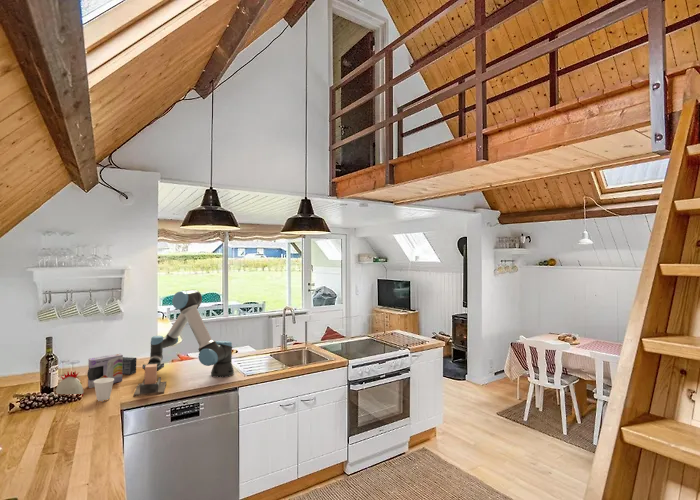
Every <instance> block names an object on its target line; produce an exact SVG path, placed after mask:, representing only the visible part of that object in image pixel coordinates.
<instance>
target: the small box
mask: <svg viewBox="0 0 700 500" xmlns="http://www.w3.org/2000/svg"><path fill="white" fill-rule="evenodd" d="M137 359H138V357H128V356H123V370H122V376H123V375H124V376H132V375H134V374H136V373H137Z"/></svg>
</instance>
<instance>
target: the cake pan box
mask: <svg viewBox="0 0 700 500" xmlns="http://www.w3.org/2000/svg"><path fill="white" fill-rule="evenodd" d="M123 357H124V356H123V354H122V353H116V354H109V355H102V356H97V357H92V358H88V362H87V363H88V364H87V365H88V370H87V372H86V373H87V387H88V388H89V389H93V388H95V385H94V381H95V380H97V379H101V378H114V381H113V384H115V383H116V384H117V383H120V382H123V375H122V370H123Z"/></svg>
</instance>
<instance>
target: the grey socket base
mask: <svg viewBox="0 0 700 500" xmlns="http://www.w3.org/2000/svg"><path fill="white" fill-rule="evenodd" d="M144 381H145V377H144V379H143V381H142V383H140V382H139V383H137V386H136V388H135V390H134V393H133V397H134V398H136V397H145V396H154V395H164V394H165V391H166V386H167V381H162V376H159V377H157V382H156V384H144ZM133 397H132V398H133Z"/></svg>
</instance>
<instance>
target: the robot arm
mask: <svg viewBox="0 0 700 500" xmlns="http://www.w3.org/2000/svg"><path fill="white" fill-rule="evenodd" d="M201 293H202V292H200V291H199V290H196V289H188V290H181V291H178V292H176V293H175V294H174V295H173V296H172V297H173V298H172V301H171V302H172V305H173V307H174V308H175V309H177V310H179V312H180V313H179V315H178V316H177V318H176V320H175V321H174V322H173V324H172V326H171V328H170V330H168V332H167V334H166V335H165V336H163V335H154V336H153V335H152V336H151V337H150V355H149V357H150V358H149V360H148V362H147V363H146V364H145V363H144V364H142V369H143V371H145V366H146V365H148V364H157V372H159V371H160V370H162V369H163V368H164V367H165V363H164V362H162V361H163V360H164V359H163V358H164V357H163V351H164V350H163V349H165V348H169V347H173V346H175V345H176V344H178V342H179V336H180V335H181V333H182V331H183V330H184V329H185V327H186V325H187V324H188V325H189V327H190V329H191V331H192V334H193V337H195V340H196V341H197V343H198V357H197V358H198V360H199V362H200V363H201V364H202V365H203V366H205V367H209V366H212V369H211V371H210V376H212V377H213V376H214V378H226V377H225V376H228V377H230V376H229V375H231V376H233V375H234V374H235V371H234V370H235V369H234V366H233V361H232V359H233V357H232V356H233V343H232V341H229V340H217V341H216V340H213V339H212V337H211V335H210V332H209V331H208V329H207V327H206V325H205V323H204V320H203V318H202V316H201V314H200V312H199V310H198V309H199V308H200V306H201V304H202V302H203V297H202V294H201ZM233 373H234V374H233ZM232 374H233V375H232Z"/></svg>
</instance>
